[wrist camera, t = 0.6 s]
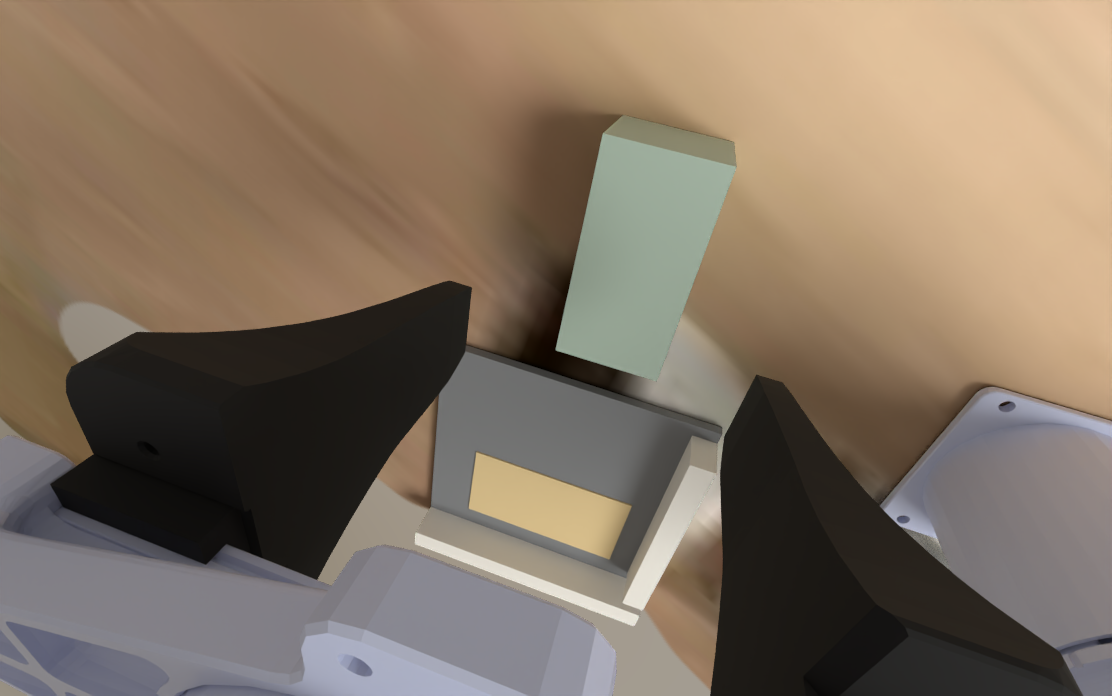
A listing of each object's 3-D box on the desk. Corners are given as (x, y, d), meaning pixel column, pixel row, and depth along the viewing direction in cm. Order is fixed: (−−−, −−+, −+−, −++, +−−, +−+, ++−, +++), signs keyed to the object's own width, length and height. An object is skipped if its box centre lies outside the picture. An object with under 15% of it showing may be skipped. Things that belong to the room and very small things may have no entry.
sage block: (734, 141, 18) (736, 166, 15) (666, 329, 23) (656, 381, 19) (624, 114, 19) (602, 133, 15) (579, 304, 23) (555, 350, 20)
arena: (722, 427, 24) (722, 464, 22) (639, 588, 32) (634, 626, 30) (447, 338, 26) (423, 365, 24) (433, 512, 34) (414, 543, 32)
